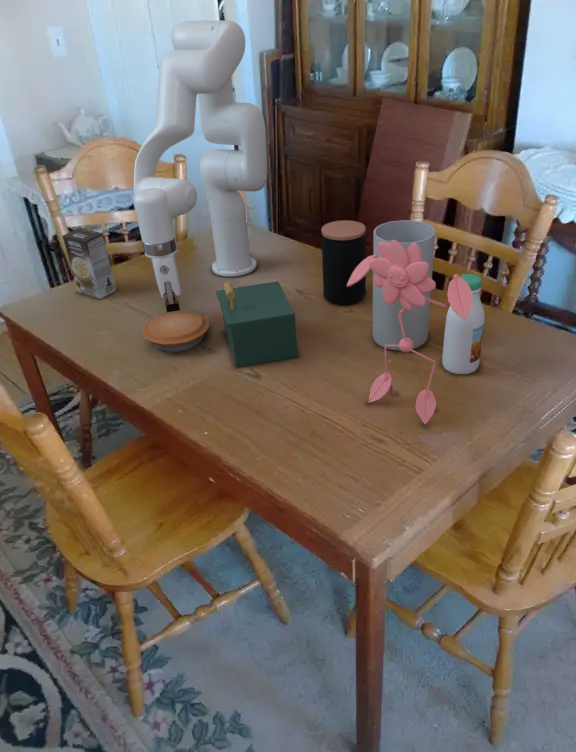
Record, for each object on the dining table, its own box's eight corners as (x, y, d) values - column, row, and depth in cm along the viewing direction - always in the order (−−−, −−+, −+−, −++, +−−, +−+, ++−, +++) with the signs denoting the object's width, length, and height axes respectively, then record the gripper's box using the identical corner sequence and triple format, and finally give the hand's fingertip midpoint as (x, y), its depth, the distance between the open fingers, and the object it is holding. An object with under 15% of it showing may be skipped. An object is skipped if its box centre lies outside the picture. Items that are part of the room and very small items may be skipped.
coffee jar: (365, 287, 171) (366, 219, 160) (364, 306, 163) (365, 236, 152) (325, 287, 173) (322, 220, 161) (322, 306, 164) (319, 237, 153)
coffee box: (76, 292, 178) (60, 235, 168) (94, 283, 182) (79, 226, 172) (100, 299, 174) (85, 241, 164) (118, 290, 178) (103, 232, 168)
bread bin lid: (227, 327, 138) (224, 305, 134) (216, 293, 151) (213, 272, 147) (295, 316, 140) (293, 294, 137) (278, 284, 153) (276, 263, 150)
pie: (193, 361, 147) (189, 342, 144) (133, 352, 151) (128, 333, 148) (222, 328, 158) (220, 309, 155) (166, 321, 163) (162, 302, 160)
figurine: (363, 377, 138) (364, 212, 117) (472, 423, 124) (495, 244, 102) (315, 411, 129) (306, 240, 108) (426, 465, 115) (441, 279, 94)
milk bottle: (457, 379, 136) (466, 290, 124) (434, 362, 141) (441, 275, 129) (486, 368, 138) (498, 280, 126) (463, 352, 144) (472, 266, 132)
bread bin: (236, 367, 144) (231, 327, 138) (225, 331, 157) (219, 293, 151) (297, 356, 146) (295, 317, 140) (281, 322, 159) (278, 284, 153)
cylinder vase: (365, 348, 147) (366, 240, 132) (380, 321, 157) (382, 218, 141) (421, 355, 144) (428, 245, 128) (432, 328, 153) (440, 222, 138)
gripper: (179, 256, 145) (192, 329, 156) (174, 231, 156) (187, 301, 168) (144, 261, 144) (161, 334, 155) (142, 236, 155) (157, 305, 167)
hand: (174, 316), depth 162 cm, fingers closed
